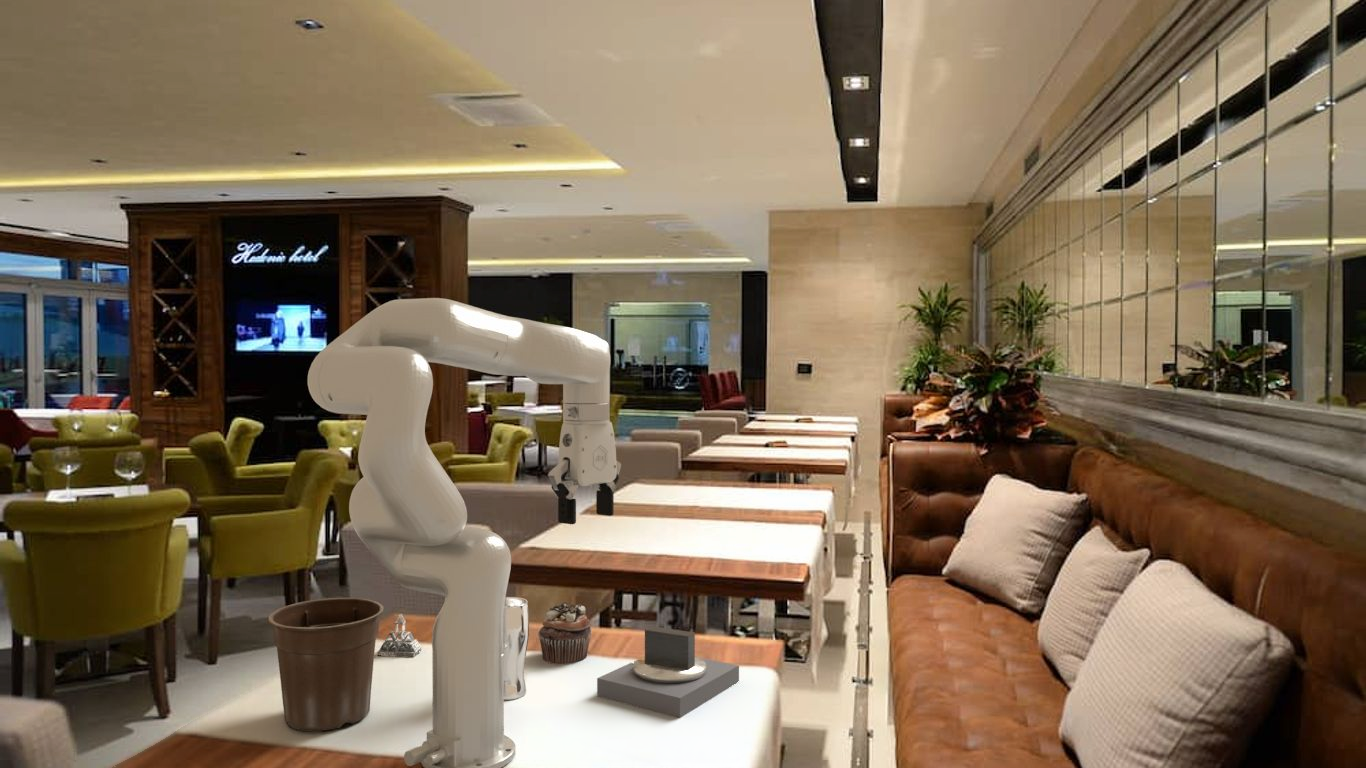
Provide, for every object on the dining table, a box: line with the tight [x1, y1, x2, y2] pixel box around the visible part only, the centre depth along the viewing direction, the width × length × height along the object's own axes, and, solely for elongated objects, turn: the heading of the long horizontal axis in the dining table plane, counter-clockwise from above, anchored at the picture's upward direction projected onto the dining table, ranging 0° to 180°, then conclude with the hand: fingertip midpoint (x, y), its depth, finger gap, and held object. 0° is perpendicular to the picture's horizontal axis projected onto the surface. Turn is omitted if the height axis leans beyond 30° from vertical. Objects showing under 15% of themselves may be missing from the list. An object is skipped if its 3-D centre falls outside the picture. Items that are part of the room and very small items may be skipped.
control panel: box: [596, 656, 740, 718], centre depth 151 cm, size 18×16×3 cm
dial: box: [633, 625, 706, 683], centre depth 151 cm, size 12×12×6 cm
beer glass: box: [504, 596, 530, 701], centre depth 149 cm, size 7×7×15 cm
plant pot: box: [268, 597, 384, 732], centre depth 140 cm, size 16×16×16 cm
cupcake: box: [537, 601, 592, 665], centre depth 167 cm, size 10×10×10 cm
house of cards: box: [377, 613, 422, 658], centre depth 172 cm, size 9×9×8 cm
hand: (586, 519), depth 150 cm, fingers open, 9 cm apart
